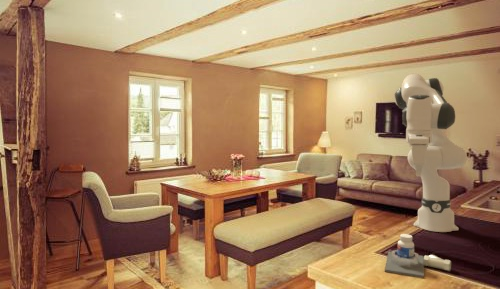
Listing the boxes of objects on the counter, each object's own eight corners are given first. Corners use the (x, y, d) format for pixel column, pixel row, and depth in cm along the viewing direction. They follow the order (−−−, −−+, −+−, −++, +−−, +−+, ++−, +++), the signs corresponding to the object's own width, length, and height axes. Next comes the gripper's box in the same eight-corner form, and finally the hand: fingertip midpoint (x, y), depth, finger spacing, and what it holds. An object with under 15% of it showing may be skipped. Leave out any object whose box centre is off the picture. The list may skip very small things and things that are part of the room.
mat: (388, 253, 134) (388, 251, 134) (423, 257, 129) (423, 255, 129) (384, 271, 118) (384, 269, 118) (424, 278, 112) (424, 275, 112)
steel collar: (392, 256, 129) (392, 248, 129) (418, 259, 125) (418, 251, 125) (390, 265, 121) (391, 256, 121) (418, 269, 117) (418, 260, 117)
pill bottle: (394, 261, 124) (394, 234, 123) (403, 258, 127) (403, 232, 126) (407, 266, 119) (408, 239, 119) (417, 263, 122) (417, 236, 121)
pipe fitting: (427, 262, 126) (423, 267, 121) (427, 251, 126) (423, 256, 121) (452, 267, 121) (449, 273, 116) (452, 256, 121) (449, 261, 116)
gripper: (410, 136, 141) (409, 170, 142) (409, 139, 122) (408, 178, 123) (427, 136, 138) (426, 170, 139) (429, 139, 120) (428, 179, 121)
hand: (418, 174), depth 131 cm, fingers open, 8 cm apart
